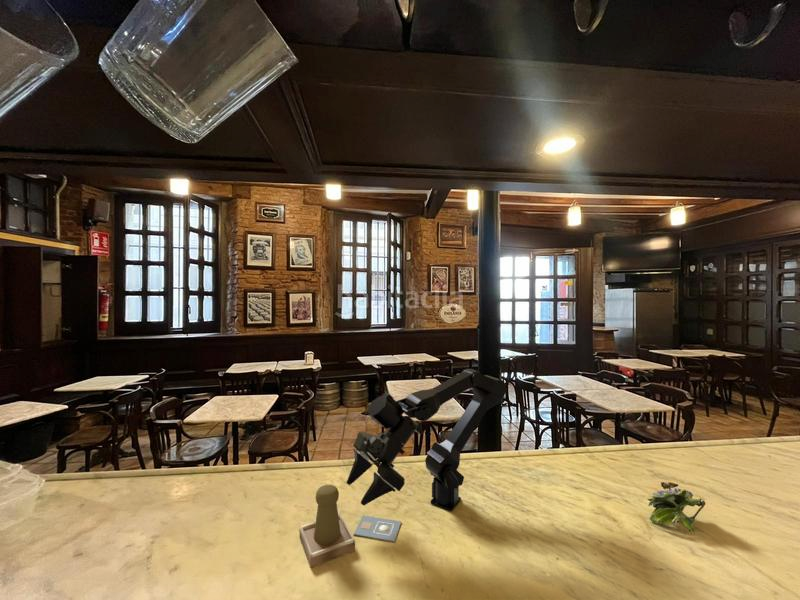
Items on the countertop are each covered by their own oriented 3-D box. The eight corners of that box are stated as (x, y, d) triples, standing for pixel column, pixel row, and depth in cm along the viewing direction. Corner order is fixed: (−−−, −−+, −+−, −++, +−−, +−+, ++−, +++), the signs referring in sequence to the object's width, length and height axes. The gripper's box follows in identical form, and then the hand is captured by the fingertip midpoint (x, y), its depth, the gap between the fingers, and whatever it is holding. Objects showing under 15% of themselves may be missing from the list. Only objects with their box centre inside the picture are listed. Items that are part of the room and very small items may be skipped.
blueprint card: (401, 522, 87) (401, 521, 87) (394, 542, 80) (394, 540, 80) (363, 516, 89) (363, 515, 89) (353, 535, 83) (353, 533, 83)
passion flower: (667, 534, 91) (687, 493, 93) (705, 558, 80) (727, 511, 82) (630, 509, 92) (651, 468, 94) (664, 529, 81) (686, 483, 83)
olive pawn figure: (341, 542, 78) (341, 493, 77) (313, 547, 76) (313, 497, 76) (339, 524, 83) (339, 479, 83) (313, 528, 82) (313, 482, 81)
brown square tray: (340, 524, 86) (340, 513, 86) (355, 550, 78) (355, 539, 78) (299, 537, 82) (299, 526, 82) (310, 567, 73) (310, 555, 73)
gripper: (360, 408, 93) (319, 458, 88) (392, 434, 76) (344, 498, 71) (386, 431, 97) (349, 481, 92) (422, 460, 80) (379, 522, 75)
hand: (354, 493), depth 83 cm, fingers open, 9 cm apart
